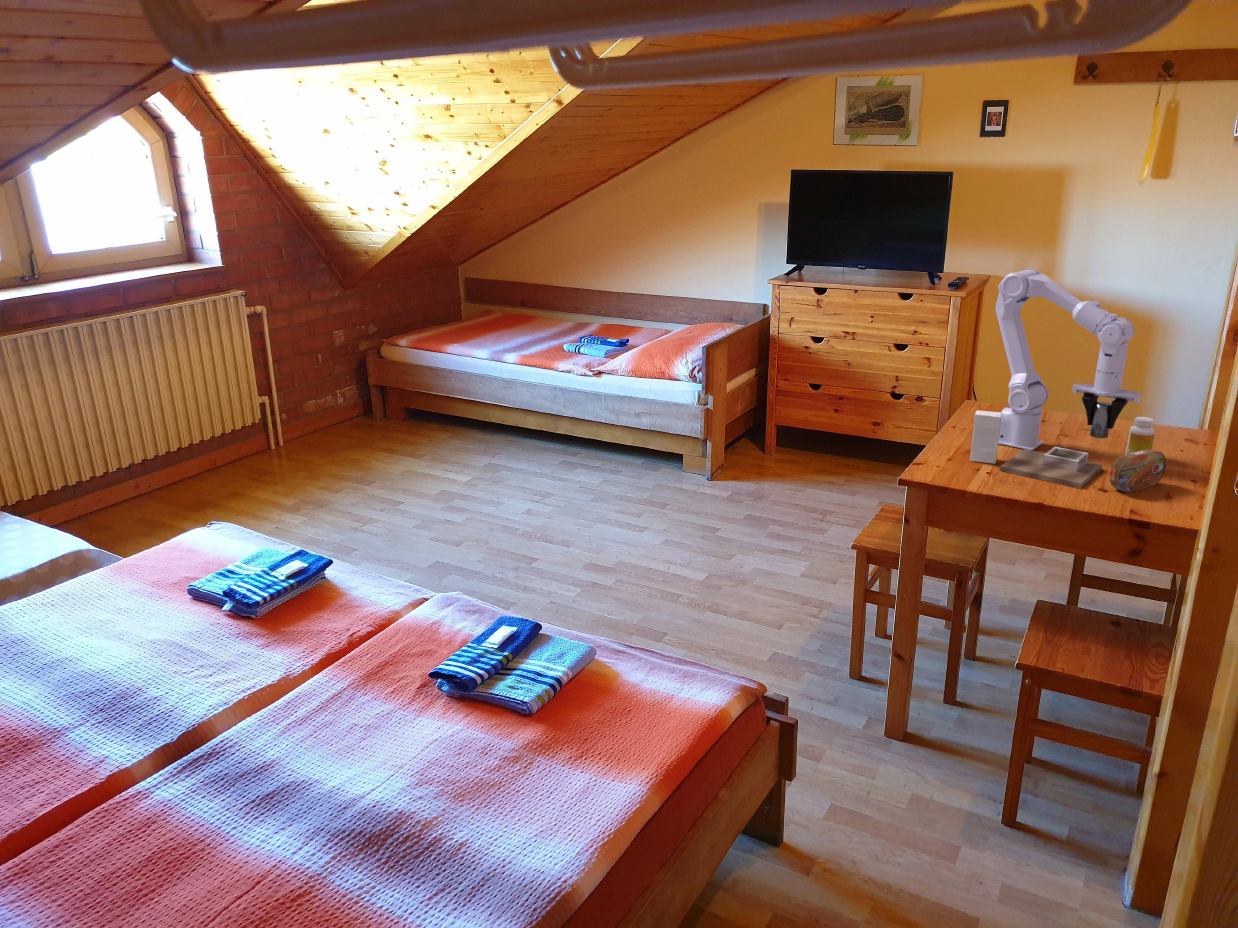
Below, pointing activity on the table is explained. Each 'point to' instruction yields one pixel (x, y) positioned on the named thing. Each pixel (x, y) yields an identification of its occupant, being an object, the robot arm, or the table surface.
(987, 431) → the skincare box
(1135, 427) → the supplement bottle
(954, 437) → the table surface
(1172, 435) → the table surface
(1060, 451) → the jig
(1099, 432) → the grey metal cylinder
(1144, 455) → the tin
